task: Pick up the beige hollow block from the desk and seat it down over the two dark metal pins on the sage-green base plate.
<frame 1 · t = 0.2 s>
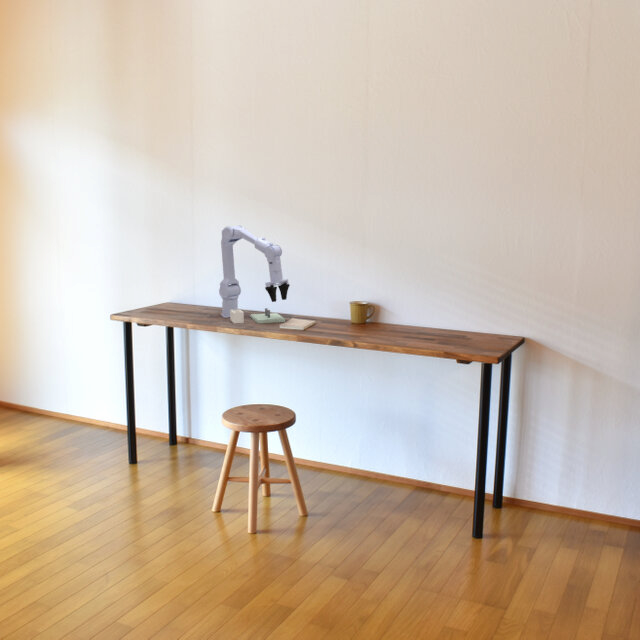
hand: (279, 300, 364), 10 cm above the table, fingers open, 7 cm apart
beige hollow block: (236, 321, 368), on the table
pin plate: (267, 319, 373), on the table
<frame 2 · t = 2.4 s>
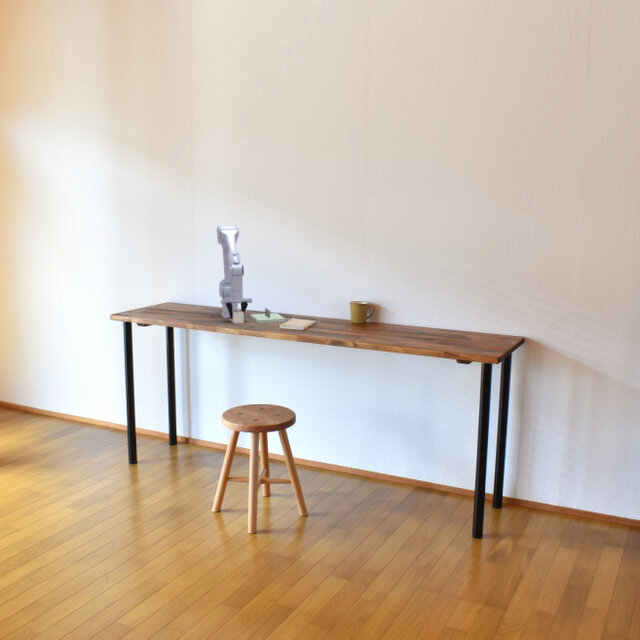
hand: (236, 318, 368), 1 cm above the table, fingers closed on beige hollow block, 5 cm apart
beige hollow block: (236, 321, 368), on the table, touching gripper
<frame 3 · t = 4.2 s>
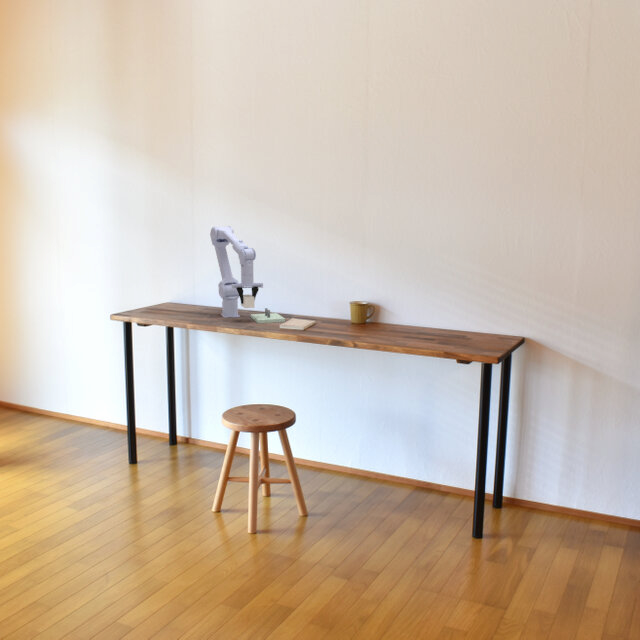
hand: (247, 303, 368), 8 cm above the table, fingers closed on beige hollow block, 5 cm apart
beige hollow block: (247, 306, 368), point 7 cm above the table, touching gripper
when the fingers open (4 cm above the table, at t = 6.0 s): beige hollow block drops 1 cm, resting on pin plate.
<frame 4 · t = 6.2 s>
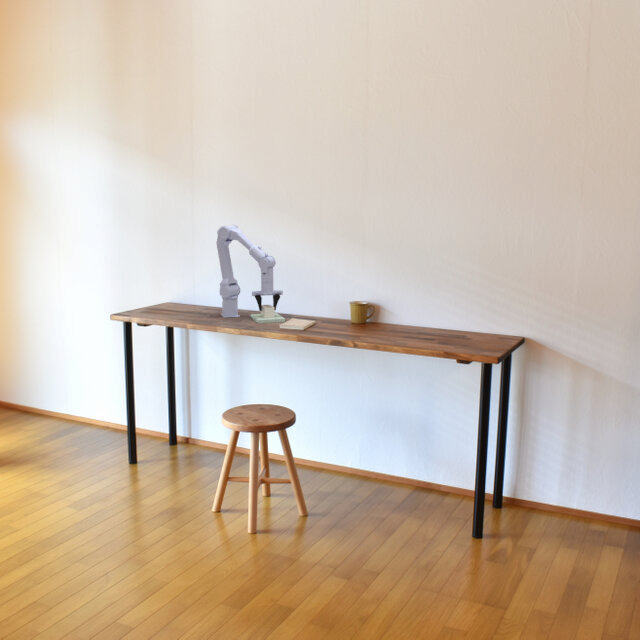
hand: (267, 310, 372), 4 cm above the table, fingers open, 6 cm apart
beige hollow block: (267, 316, 373), point 1 cm above the table, touching pin plate
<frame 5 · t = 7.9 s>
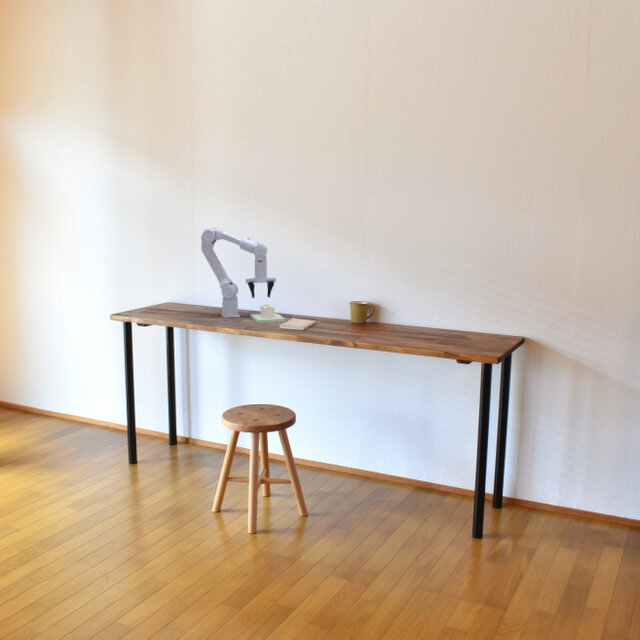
hand: (261, 297, 380), 9 cm above the table, fingers open, 7 cm apart
nothing on the table moved.
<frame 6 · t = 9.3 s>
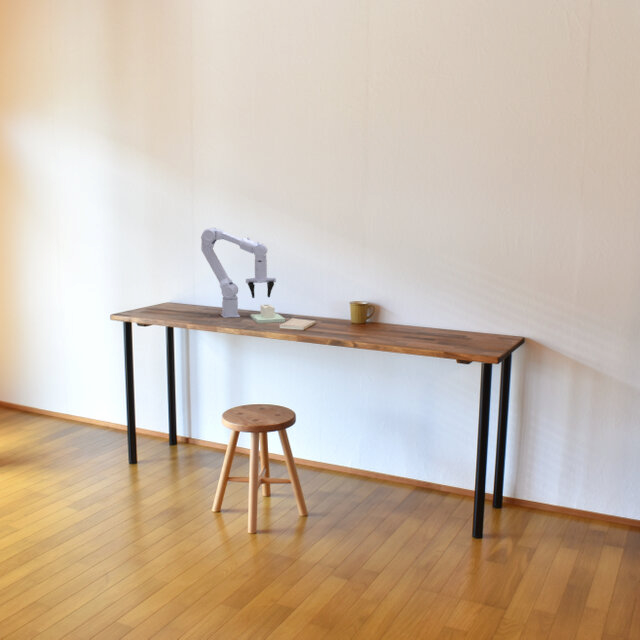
hand: (261, 297, 380), 9 cm above the table, fingers open, 7 cm apart
nothing on the table moved.
at the end: beige hollow block 0.2 cm off-centre on the pin plate, point 1.5 cm above the pin plate's base; beige hollow block tilted 0°; the gripper is holding nothing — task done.
